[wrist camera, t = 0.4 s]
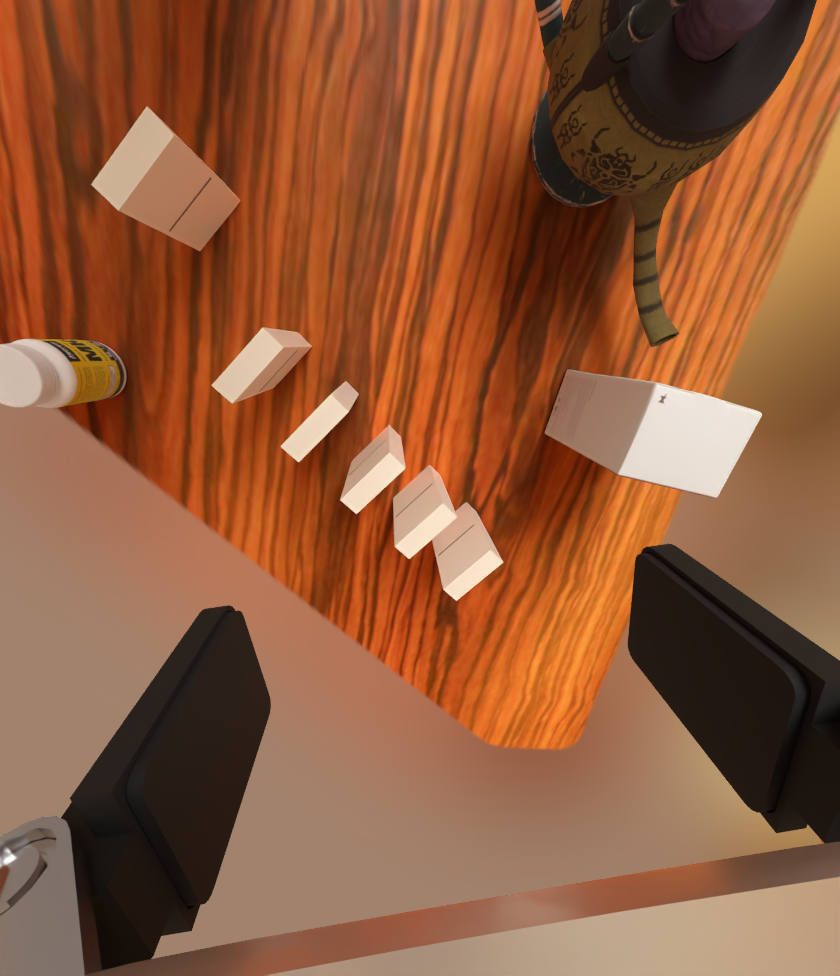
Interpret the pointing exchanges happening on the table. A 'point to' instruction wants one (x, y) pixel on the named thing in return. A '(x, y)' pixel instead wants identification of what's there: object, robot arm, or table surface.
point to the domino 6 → (464, 553)
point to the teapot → (653, 103)
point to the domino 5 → (421, 512)
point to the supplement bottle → (58, 372)
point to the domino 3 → (320, 422)
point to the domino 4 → (373, 469)
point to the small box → (651, 430)
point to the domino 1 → (165, 184)
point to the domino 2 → (261, 364)
